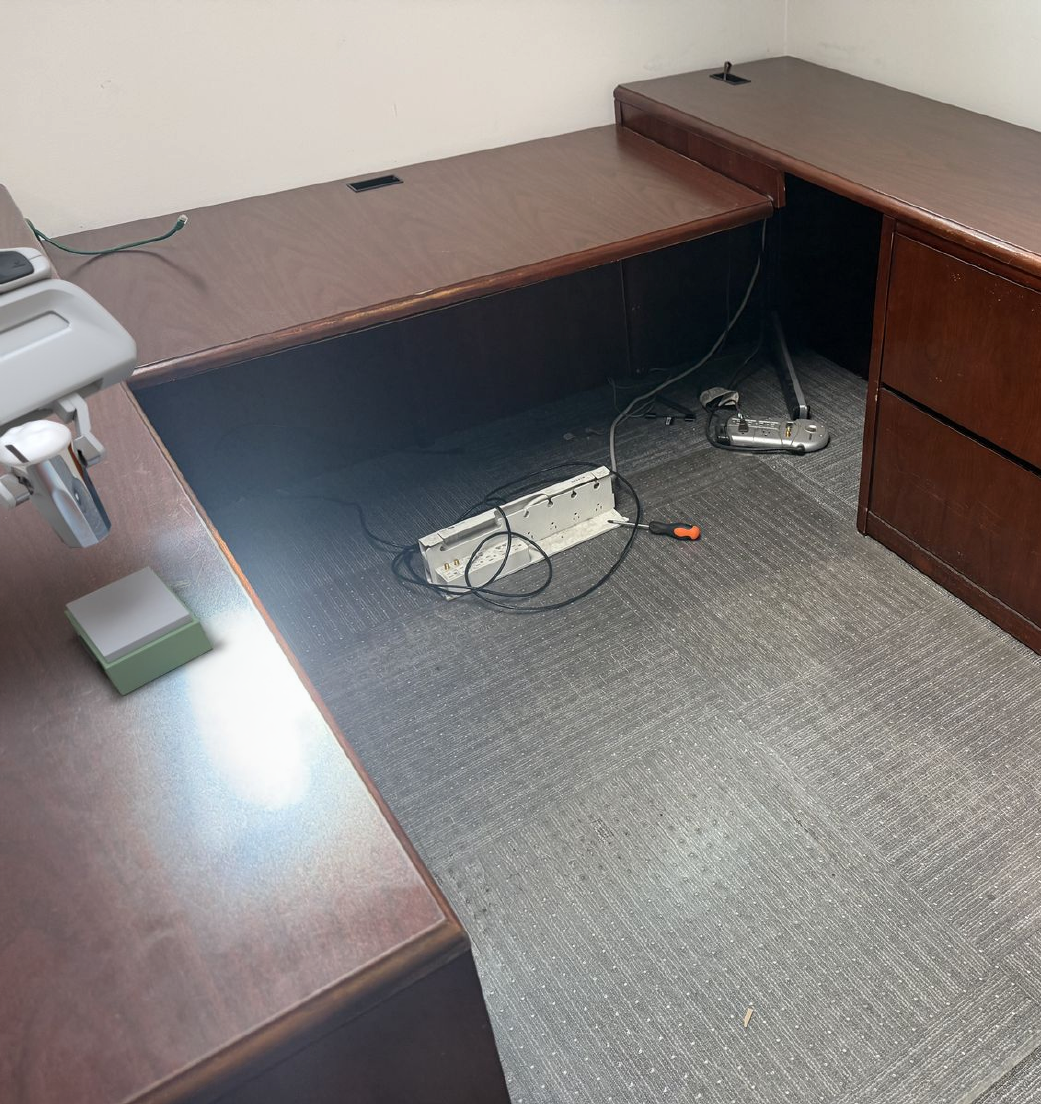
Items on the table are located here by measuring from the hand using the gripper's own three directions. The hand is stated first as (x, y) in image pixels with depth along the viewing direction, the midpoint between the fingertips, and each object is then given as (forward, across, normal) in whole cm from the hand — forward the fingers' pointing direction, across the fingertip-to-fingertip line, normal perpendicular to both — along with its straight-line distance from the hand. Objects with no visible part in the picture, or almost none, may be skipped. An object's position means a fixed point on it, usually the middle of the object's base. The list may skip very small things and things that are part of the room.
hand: (59, 481), depth 69 cm
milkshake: (+3, 0, +4) cm, 5 cm away
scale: (+11, 0, +12) cm, 17 cm away
